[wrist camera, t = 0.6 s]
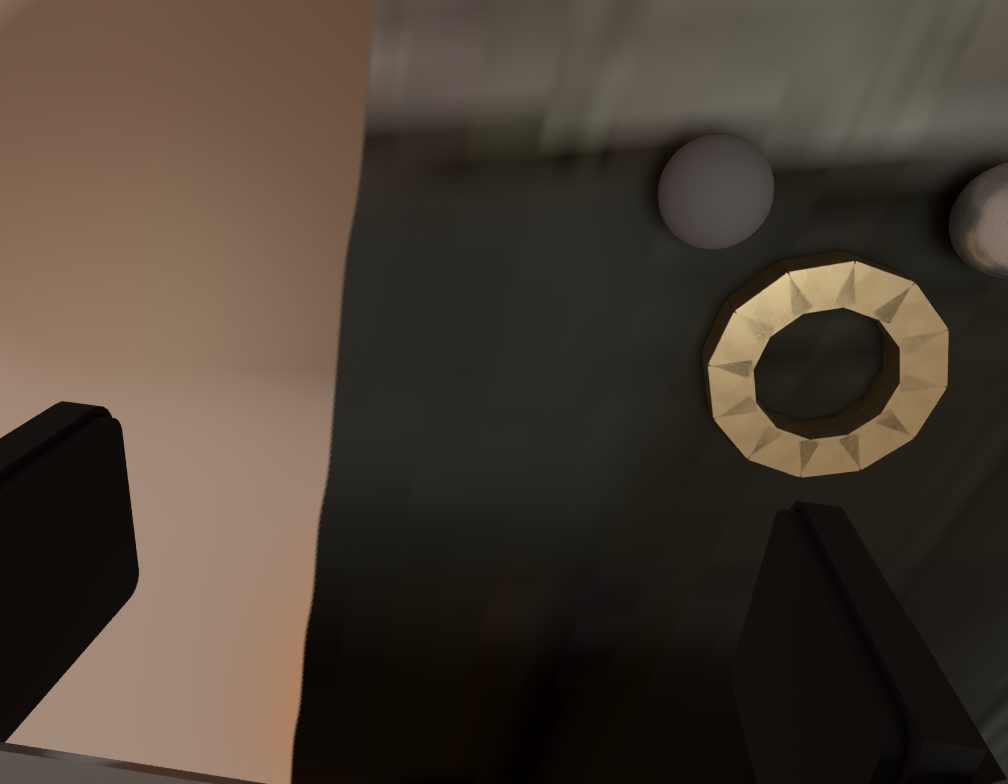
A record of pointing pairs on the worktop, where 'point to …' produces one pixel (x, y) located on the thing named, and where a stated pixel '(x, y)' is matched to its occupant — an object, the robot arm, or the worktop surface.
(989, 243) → the steel ball
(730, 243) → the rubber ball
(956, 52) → the worktop surface
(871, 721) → the robot arm
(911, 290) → the gold faceted ring
